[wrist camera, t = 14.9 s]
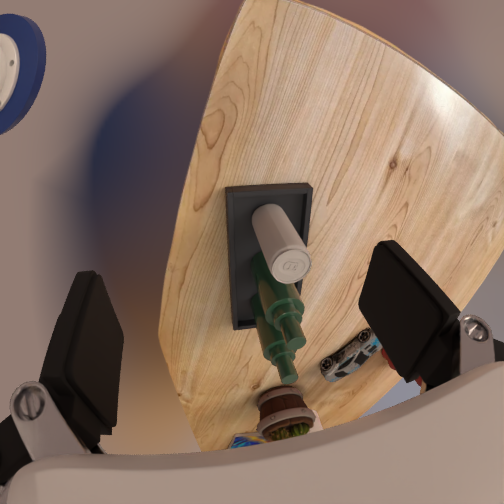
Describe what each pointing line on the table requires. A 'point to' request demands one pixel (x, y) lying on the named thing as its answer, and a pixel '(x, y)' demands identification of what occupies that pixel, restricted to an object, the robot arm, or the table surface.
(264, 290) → the middle bottle
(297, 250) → the beverage can
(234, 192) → the tray
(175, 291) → the table surface
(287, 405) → the flowerpot
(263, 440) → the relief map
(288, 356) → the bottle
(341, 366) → the toy car
